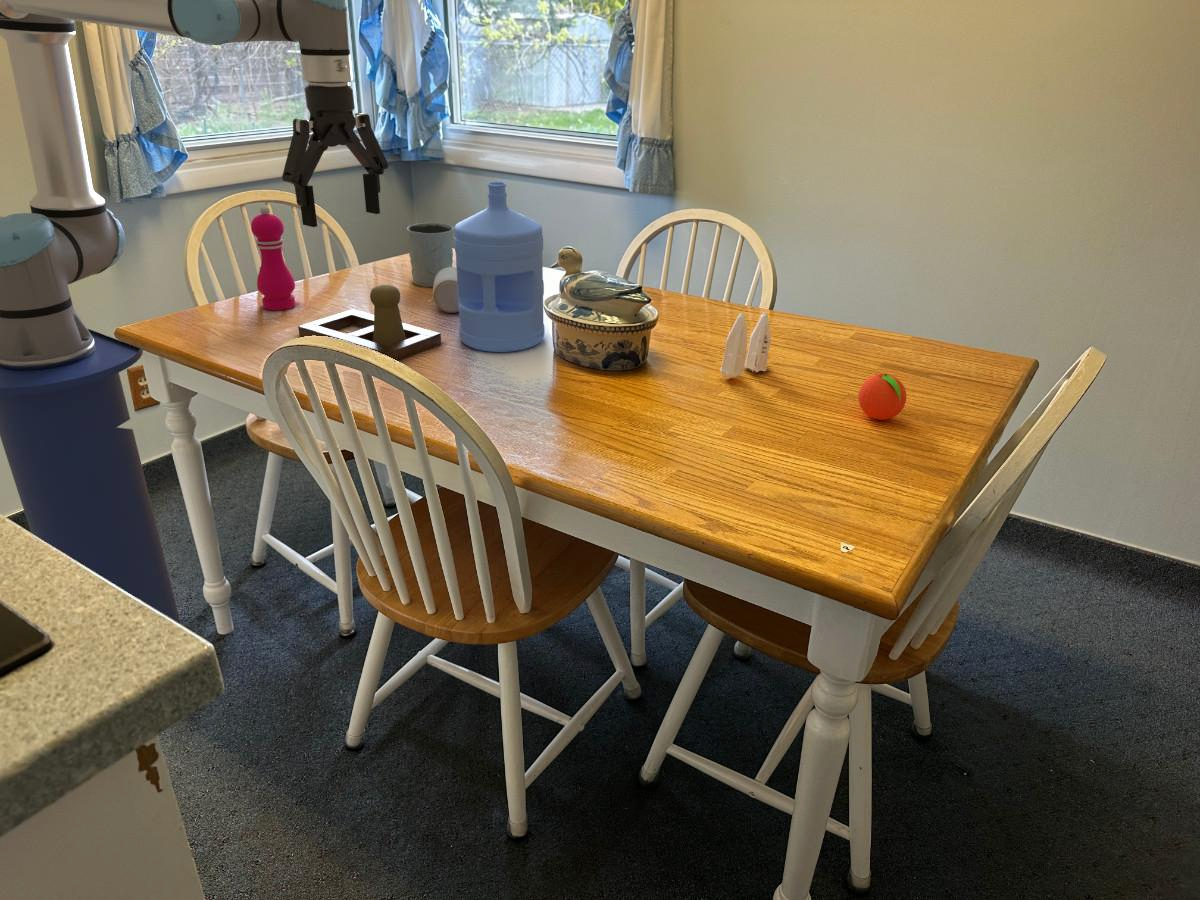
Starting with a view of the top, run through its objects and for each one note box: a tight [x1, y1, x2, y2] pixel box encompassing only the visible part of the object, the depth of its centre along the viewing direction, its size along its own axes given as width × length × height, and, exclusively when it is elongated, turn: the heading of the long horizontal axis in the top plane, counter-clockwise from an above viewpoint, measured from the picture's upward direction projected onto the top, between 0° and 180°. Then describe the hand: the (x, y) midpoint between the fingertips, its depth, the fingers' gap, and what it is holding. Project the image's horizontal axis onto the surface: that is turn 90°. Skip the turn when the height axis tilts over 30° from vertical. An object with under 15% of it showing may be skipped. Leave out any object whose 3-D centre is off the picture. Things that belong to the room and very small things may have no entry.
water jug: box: [453, 181, 546, 353], centre depth 156 cm, size 16×16×28 cm
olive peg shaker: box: [369, 284, 406, 346], centre depth 156 cm, size 6×6×11 cm
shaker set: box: [719, 311, 772, 380], centre depth 146 cm, size 12×4×11 cm, turn 134°
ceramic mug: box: [432, 266, 459, 314], centre depth 177 cm, size 11×8×8 cm
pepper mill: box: [250, 205, 296, 311], centre depth 174 cm, size 7×7×20 cm
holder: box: [297, 308, 442, 361], centre depth 161 cm, size 13×24×2 cm, turn 55°
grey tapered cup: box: [406, 222, 455, 288], centre depth 193 cm, size 10×10×12 cm
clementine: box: [857, 373, 907, 421], centre depth 132 cm, size 8×7×7 cm
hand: (342, 219), depth 149 cm, fingers open, 13 cm apart
